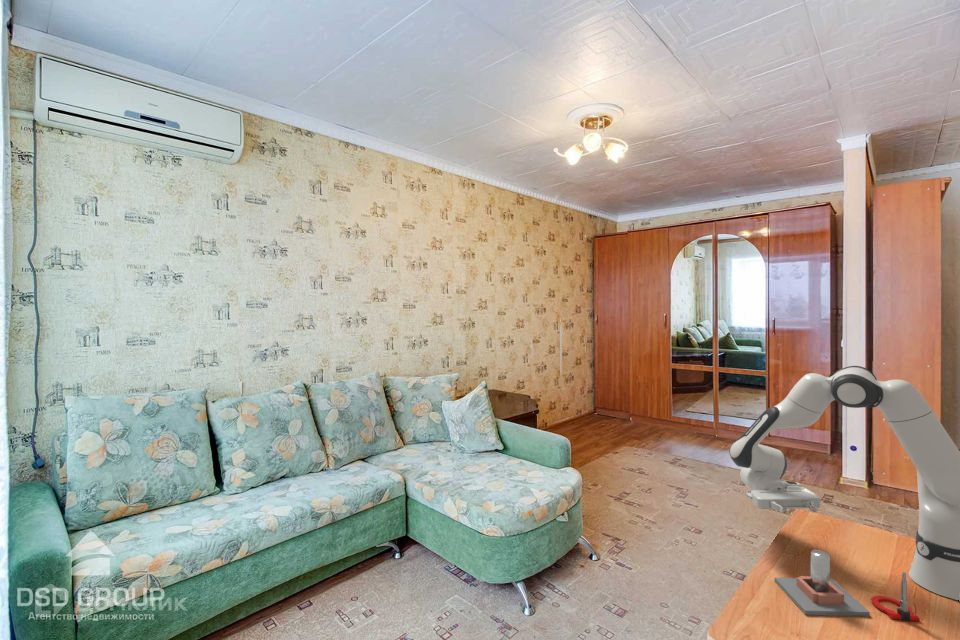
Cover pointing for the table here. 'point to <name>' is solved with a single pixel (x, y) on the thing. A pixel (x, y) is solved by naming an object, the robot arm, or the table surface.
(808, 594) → the keeper
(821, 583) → the brushed steel cylinder
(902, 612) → the tow hook
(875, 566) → the table surface
